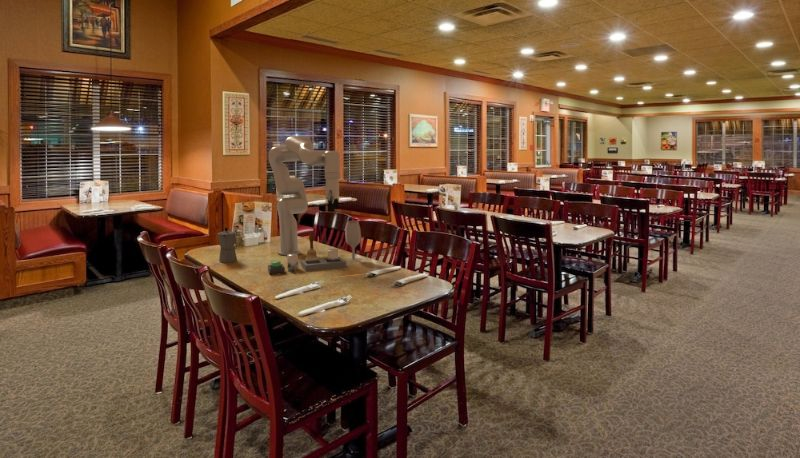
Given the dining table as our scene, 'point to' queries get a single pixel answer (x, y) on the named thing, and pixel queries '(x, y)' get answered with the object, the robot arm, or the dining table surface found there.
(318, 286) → the dining table surface
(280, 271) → the button housing
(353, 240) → the wineglass
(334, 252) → the billet
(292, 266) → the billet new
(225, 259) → the coffeepot
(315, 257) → the hand bell
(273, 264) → the button
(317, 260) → the tray
